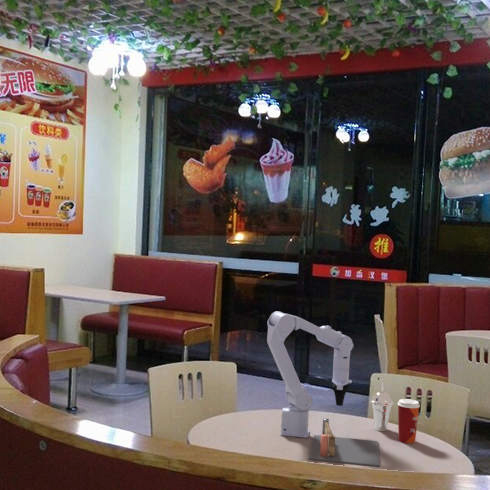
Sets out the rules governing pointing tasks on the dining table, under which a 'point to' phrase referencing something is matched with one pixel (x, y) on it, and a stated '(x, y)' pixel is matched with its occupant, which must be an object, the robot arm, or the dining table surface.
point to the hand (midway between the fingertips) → (339, 405)
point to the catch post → (324, 445)
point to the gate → (330, 440)
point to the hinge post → (324, 424)
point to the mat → (348, 451)
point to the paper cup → (407, 420)
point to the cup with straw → (381, 409)
